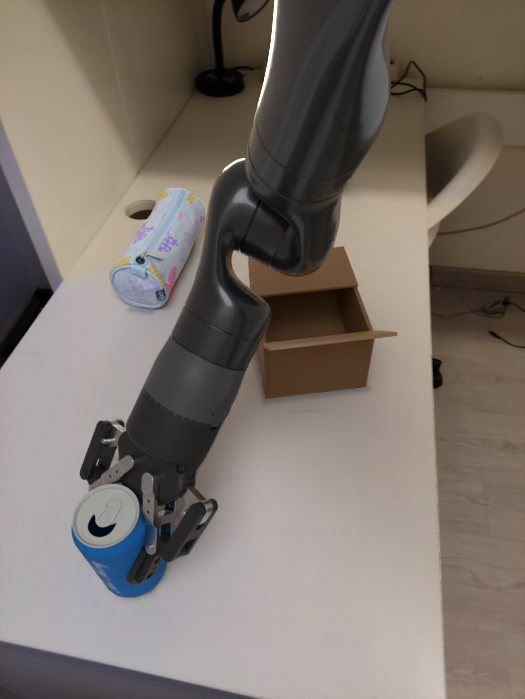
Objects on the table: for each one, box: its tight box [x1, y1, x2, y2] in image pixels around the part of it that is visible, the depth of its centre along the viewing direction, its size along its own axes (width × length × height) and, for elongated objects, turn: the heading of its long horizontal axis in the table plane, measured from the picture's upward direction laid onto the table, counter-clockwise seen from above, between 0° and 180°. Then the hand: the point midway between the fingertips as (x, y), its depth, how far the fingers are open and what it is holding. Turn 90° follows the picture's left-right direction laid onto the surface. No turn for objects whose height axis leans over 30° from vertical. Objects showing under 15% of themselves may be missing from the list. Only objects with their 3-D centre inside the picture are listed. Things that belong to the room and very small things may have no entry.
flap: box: [263, 329, 399, 351], centre depth 57 cm, size 8×13×1 cm
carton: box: [247, 246, 375, 400], centre depth 70 cm, size 16×13×10 cm
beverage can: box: [70, 484, 168, 599], centre depth 49 cm, size 6×6×12 cm
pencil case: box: [109, 187, 206, 310], centre depth 82 cm, size 21×9×10 cm, turn 166°
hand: (111, 554), depth 49 cm, fingers closed on beverage can, 6 cm apart
